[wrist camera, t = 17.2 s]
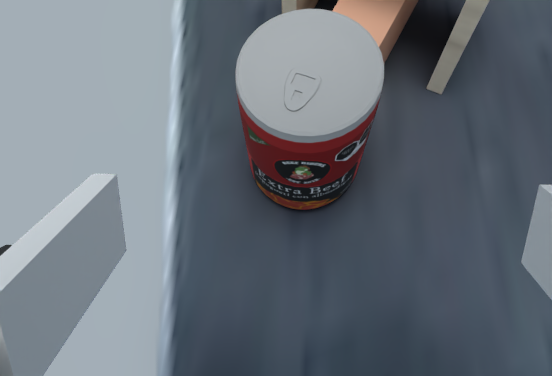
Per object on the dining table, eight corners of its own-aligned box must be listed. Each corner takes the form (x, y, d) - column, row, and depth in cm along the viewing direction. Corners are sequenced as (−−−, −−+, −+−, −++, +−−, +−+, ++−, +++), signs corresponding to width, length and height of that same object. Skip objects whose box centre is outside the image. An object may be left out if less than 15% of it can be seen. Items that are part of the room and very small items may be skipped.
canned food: (244, 209, 33) (223, 130, 23) (257, 109, 36) (245, 1, 26) (355, 218, 33) (384, 143, 23) (359, 117, 36) (387, 10, 26)
